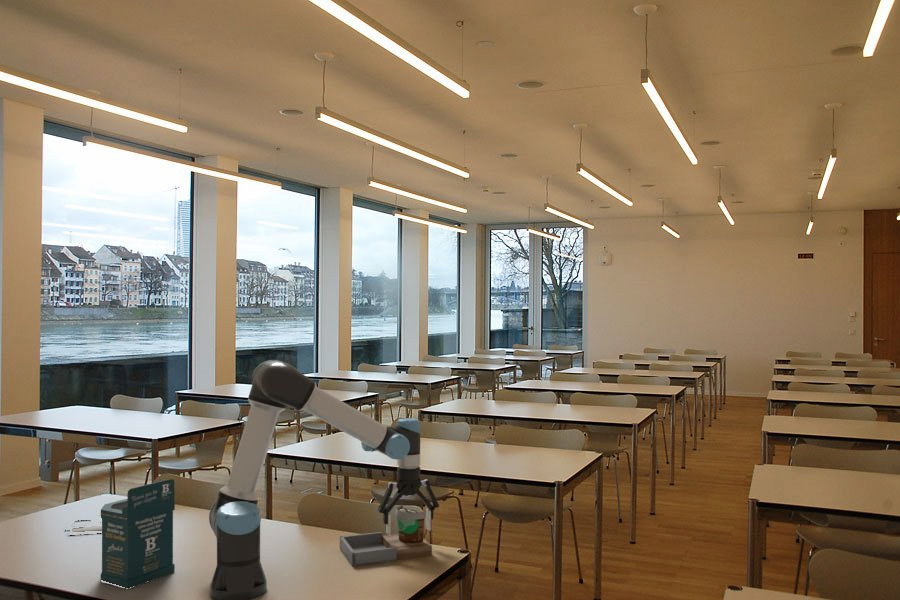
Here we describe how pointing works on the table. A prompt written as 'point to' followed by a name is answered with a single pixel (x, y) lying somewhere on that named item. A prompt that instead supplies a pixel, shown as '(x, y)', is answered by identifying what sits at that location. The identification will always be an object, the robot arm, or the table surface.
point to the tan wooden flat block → (407, 547)
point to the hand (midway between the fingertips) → (408, 531)
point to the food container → (410, 525)
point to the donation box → (138, 535)
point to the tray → (366, 549)
